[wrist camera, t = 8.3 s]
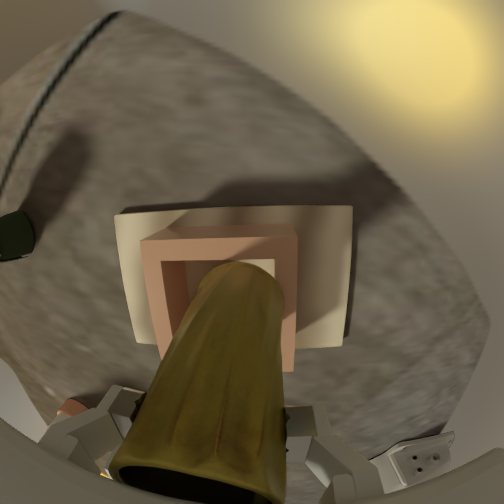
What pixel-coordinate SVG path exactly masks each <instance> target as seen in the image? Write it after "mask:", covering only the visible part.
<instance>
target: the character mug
mask: <svg viewBox="0 0 504 504" xmlns="http://www.w3.org/2000/svg"><path fill="white" fill-rule="evenodd" d="M33 245H34V237H33V230H32V228H31V225H30V223H29V221H28V219H27V217H26V216H25V214H24V213H23V212H21V211H20V210H19V211H15V212H12V213H10V214H7V215H4V216H2V217H0V263H1V262H8V261H13V260H18V259H22V258H25V257H22V255H25V254H29V253H31V252H32V249H33ZM26 257H27V256H26Z"/></svg>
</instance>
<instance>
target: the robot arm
mask: <svg viewBox="0 0 504 504" xmlns="http://www.w3.org/2000/svg"><path fill="white" fill-rule="evenodd" d="M146 395H147V393H146V392H142V391H138V390H134V389H130V388H126V387H122V386H118V385H113V386H111V388H110V389H109V390H108V392H107V393H106V395H105V396H104V397H103V399H102V400H101V402H100V403H99V405H98V406H97V408H91V409H89V410H87V411H84V412H82V413H80V414H77V415H75V416H73V417H70V418H68V419H65V420H63V421H61V422H58V423H56V424H53V425H51V426H50V428H49V429H48V430H47V432H46V433H45V435H44V436H43V437H42V438H41V440H40V441H39V442H38V443H36V442H35V441H33V440H31V439H30V438H28V437H27V436H25V435H24V434H22V433H21V432H19V431H18V430H17V429H15V428H14V427H12V426H11V425H10V424H8V423H7V422H6V421H4V420H3V419H2V418H0V504H204V503H198V502H192V501H186V500H181V499H177V498H172V497H168V496H163V495H159V494H156V493H152V492H148V491H145V490H141V489H138V488H135V487H132V486H129V485H126V484H123V483H120V482H117V481H114V480H112V479H109V478H106V477H104V476H101V475H100V473H101V471H100V469H99V468H98V466H97V465H96V464H95V462H94V461H96V460H97V459H99V458H100V457H102V456H103V455H105V454H106V453H108V452H109V451H111V450H112V449H114V448H115V447H117V446H118V445H120V444H121V443H122V442H123V440H124V439H125V437H126V435H127V433H128V431H129V429H130V427H131V425H132V423H133V421H134V419H135V418H136V416H137V414H138V412H139V410H140V407H141V405H142V403H143V401H144V399H145V397H146ZM284 416H285V440H286V462H305V463H306V465H307V466H308V467H309V468H310V469H311V470H312V472H313V473H314V474H315V475H316V476H317V477H318V479H319V480H320V481H321V482H322V483H323V484H324V485H325V486H326V488H327V489H326V491H325V492H324V494H323V496H322V497H321V499H320V500H319V502H318V504H504V449H503V448H494V449H492V450H490V451H489V452H487V453H485V454H483V455H482V456H480V457H478V458H476V459H474V460H472V461H470V462H468V463H466V464H464V465H462V466H460V467H458V468H456V469H454V470H452V471H449V472H447V473H446V471H447V469H448V468H449V466H450V463H451V454H450V450H449V448H450V446H451V444H452V443H453V441H454V438H455V434H454V432H453V431H451V432H447V433H443V434H439V435H435V436H431V437H426V438H421V439H416V440H411V441H405V442H400V443H398V444H396V445H394V446H393V447H392V448H390V449H389V450H388V451H386V452H385V453H383V454H381V455H380V456H378V457H375V458H373V459H372V460H370V461H368V460H367V459H366V458H364V457H363V456H362V455H360V454H359V453H358V452H357V451H355V450H354V449H353V448H352V447H350V446H349V445H348V444H347V443H346V442H344V441H343V440H342V439H341V438H339V437H338V436H337V435H332V431H331V427H330V422H329V417H328V413H327V408H326V405H325V404H312V405H311V404H310V405H285V407H284Z"/></svg>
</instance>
